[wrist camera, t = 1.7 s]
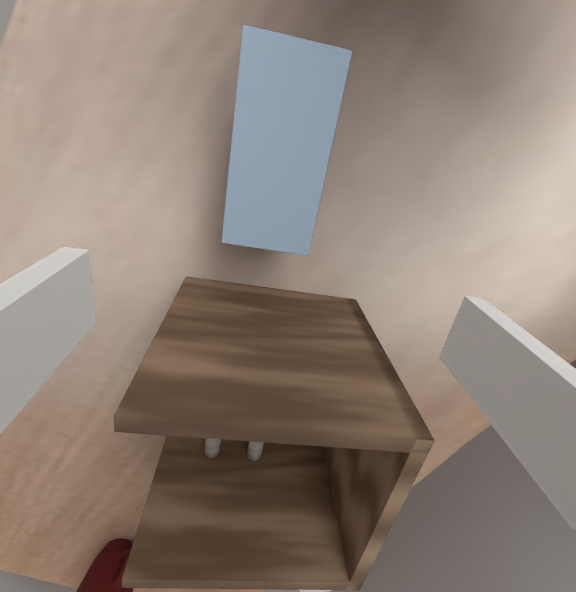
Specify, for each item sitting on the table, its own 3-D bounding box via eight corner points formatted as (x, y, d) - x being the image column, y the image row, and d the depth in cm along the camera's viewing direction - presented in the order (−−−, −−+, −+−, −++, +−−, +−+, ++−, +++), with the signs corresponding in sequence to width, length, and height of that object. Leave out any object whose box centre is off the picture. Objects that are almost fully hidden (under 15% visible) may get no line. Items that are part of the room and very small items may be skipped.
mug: (111, 517, 53) (81, 595, 44) (160, 530, 56) (141, 607, 47) (88, 552, 57) (55, 631, 48) (135, 563, 59) (112, 641, 50)
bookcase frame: (186, 276, 37) (113, 415, 19) (355, 299, 39) (434, 440, 21) (178, 402, 44) (122, 587, 26) (322, 414, 47) (359, 590, 29)
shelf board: (245, 34, 23) (243, 24, 21) (343, 57, 24) (352, 50, 22) (224, 234, 29) (221, 242, 27) (304, 246, 30) (308, 255, 28)
